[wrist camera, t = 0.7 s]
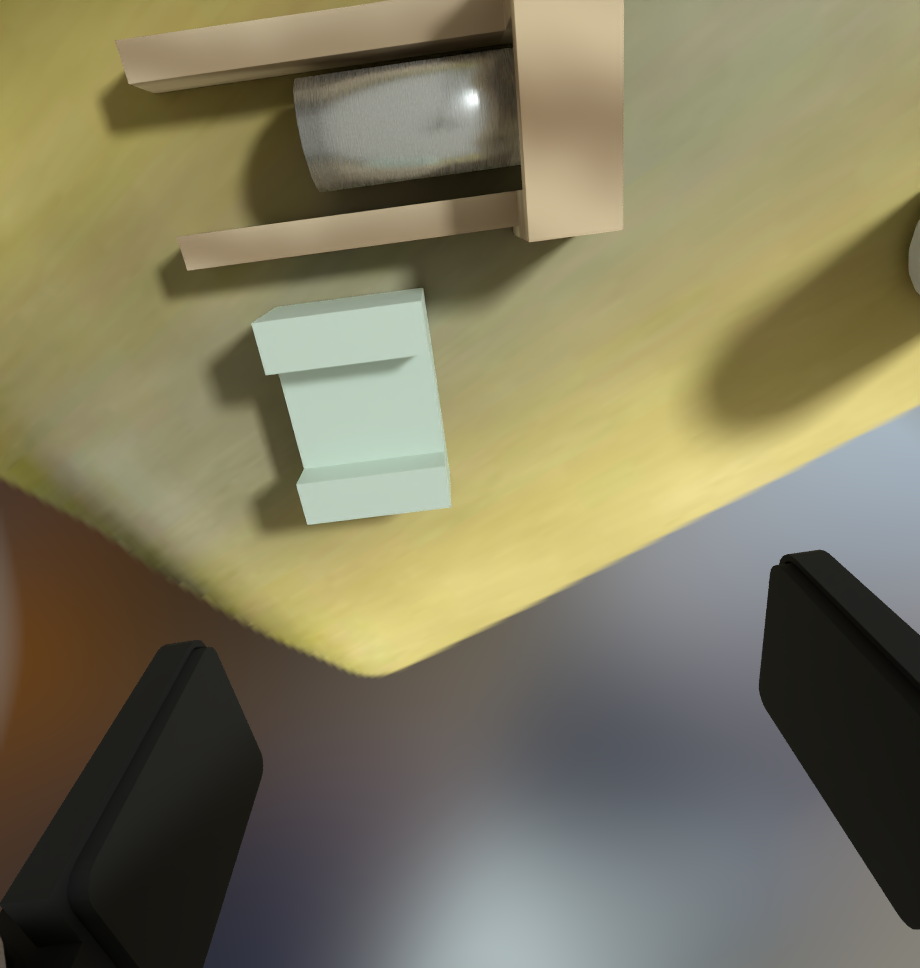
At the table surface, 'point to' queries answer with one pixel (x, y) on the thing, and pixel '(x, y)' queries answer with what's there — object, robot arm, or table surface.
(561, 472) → the table surface
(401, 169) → the axle
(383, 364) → the v block
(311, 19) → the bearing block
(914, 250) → the can
